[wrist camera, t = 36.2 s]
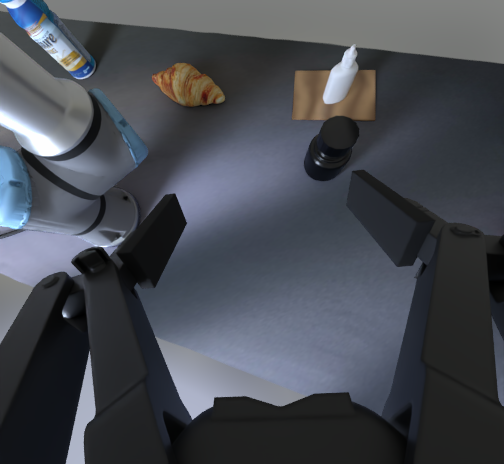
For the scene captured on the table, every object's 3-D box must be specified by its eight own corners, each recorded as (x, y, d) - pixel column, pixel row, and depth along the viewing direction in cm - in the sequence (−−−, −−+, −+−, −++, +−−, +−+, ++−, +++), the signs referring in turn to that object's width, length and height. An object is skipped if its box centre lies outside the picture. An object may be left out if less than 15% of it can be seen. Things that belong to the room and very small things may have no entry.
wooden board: (291, 119, 49) (292, 118, 49) (295, 72, 51) (295, 70, 51) (374, 120, 47) (375, 119, 47) (374, 71, 49) (375, 69, 49)
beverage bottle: (101, 58, 58) (15, -45, 38) (91, 82, 57) (-3, -12, 37) (78, 55, 59) (-18, -48, 40) (67, 78, 58) (-36, -15, 39)
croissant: (232, 104, 55) (232, 69, 49) (217, 119, 50) (215, 82, 43) (166, 87, 58) (158, 52, 51) (145, 99, 52) (133, 62, 46)
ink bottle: (344, 150, 47) (370, 112, 35) (340, 184, 46) (365, 157, 34) (304, 145, 48) (315, 108, 36) (299, 179, 47) (309, 151, 35)
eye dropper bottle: (324, 88, 49) (341, 34, 37) (346, 91, 49) (371, 37, 37) (320, 103, 49) (337, 53, 37) (343, 107, 48) (367, 56, 36)
